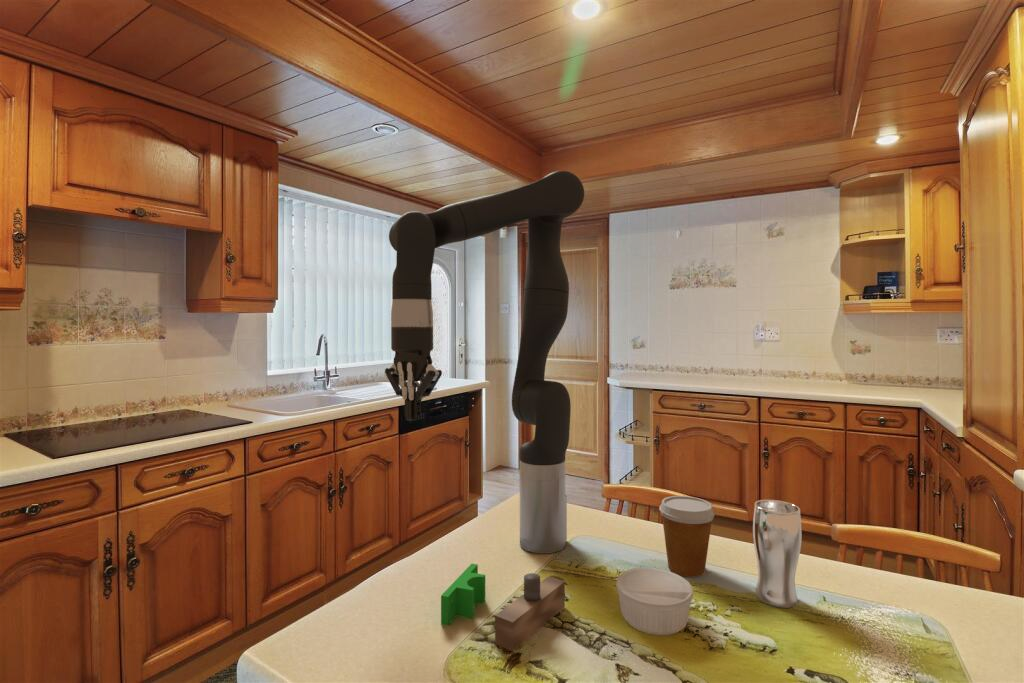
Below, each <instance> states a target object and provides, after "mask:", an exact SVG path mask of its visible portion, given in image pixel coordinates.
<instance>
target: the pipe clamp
mask: <svg viewBox="0 0 1024 683" xmlns="http://www.w3.org/2000/svg"><path fill="white" fill-rule="evenodd" d="M478 570H479V565H478V564H477V563H470V564H469V565H468V566H467V567H466V568H465V570H464V571H463V572H462V573H461V574H460V575H459V576H458V577H457V578H455V580H454V581H453V582H452V584H450V585H449V587H448V588H446V590H445V591H444V592H443V593H441V595H440V625H441V626H447V627H448V626H450V625H451V623H452V622H453V621H454V620H455V618H456V617H463V618H467V619H474V617H475V605H476V604H482V605H483V604H485V603H486V574H483V573H478V572H479V571H478Z"/></svg>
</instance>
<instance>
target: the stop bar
mask: <svg viewBox="0 0 1024 683" xmlns="http://www.w3.org/2000/svg"><path fill="white" fill-rule="evenodd" d="M565 586H566V582H565V581H564V580H561V579H558V578H555V577H552V576H547V577H545V578H544V579H543V580H541V575H539V574H537V573H526V574H525V575H523V594H522V595H521V596H519V597H518V598H517V599H516V600H514V601H513V602H511V603H510V604H508V605H506V606H505V607H504V608H503V609H502V610H500V611H499V612H498V613H496V614H495V615H494V644H495V645H497V646H498V647H501V648H503V649H506V650H508V651H511V652H514V651H515V650H516V649H518V648H519V647H520V646H521V645H522V644H523V643H525V642H526V641H527V640H528V639H529V638H530V637H532V636H533V635H534V634H535V633H536V632H537V631H538V630H539V629H541V628H542V627H544V625H545V624H547V623H548V622H549V621H551V619H553V618H554V616H556V615H557V614H558V613H559V612H561V611H562V610H563V609H564V608H565V607H566V606H565V605H566V602H565V601H566V599H565V598H566V597H565V596H566V594H565V593H566V587H565Z"/></svg>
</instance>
